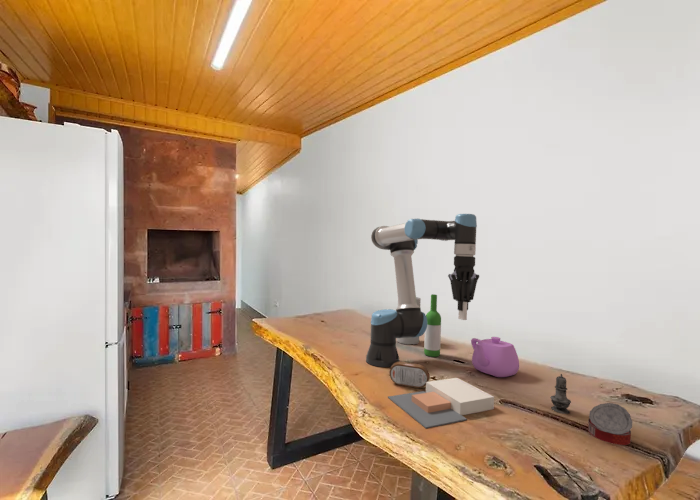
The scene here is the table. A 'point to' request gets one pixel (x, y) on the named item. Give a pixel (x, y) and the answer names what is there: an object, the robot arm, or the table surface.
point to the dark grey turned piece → (560, 396)
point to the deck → (461, 395)
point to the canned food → (610, 424)
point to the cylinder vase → (410, 340)
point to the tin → (409, 374)
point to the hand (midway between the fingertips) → (462, 319)
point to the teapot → (495, 357)
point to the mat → (422, 416)
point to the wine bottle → (433, 330)
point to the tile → (431, 402)
